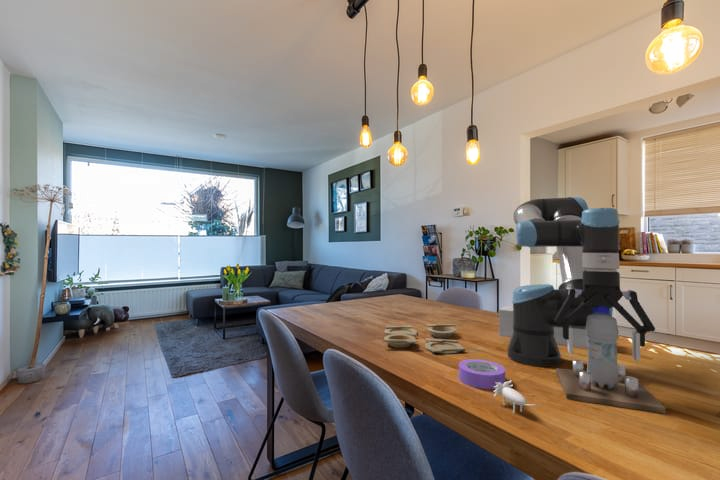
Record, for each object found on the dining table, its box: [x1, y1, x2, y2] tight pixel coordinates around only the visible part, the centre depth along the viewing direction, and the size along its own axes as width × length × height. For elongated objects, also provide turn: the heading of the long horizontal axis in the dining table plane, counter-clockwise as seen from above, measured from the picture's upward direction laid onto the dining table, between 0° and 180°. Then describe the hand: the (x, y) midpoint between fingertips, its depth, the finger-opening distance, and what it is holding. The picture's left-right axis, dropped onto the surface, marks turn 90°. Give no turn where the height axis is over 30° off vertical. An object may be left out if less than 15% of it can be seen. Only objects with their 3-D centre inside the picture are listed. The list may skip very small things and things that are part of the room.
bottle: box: [585, 306, 620, 389], centre depth 83 cm, size 7×7×20 cm
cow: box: [492, 379, 537, 414], centre depth 73 cm, size 12×5×5 cm, turn 13°
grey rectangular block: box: [498, 305, 588, 350], centre depth 130 cm, size 32×11×11 cm, turn 53°
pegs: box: [571, 358, 639, 398], centre depth 83 cm, size 11×11×4 cm
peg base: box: [555, 367, 666, 415], centre depth 83 cm, size 18×18×1 cm
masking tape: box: [458, 358, 506, 390], centre depth 90 cm, size 12×12×4 cm
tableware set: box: [382, 323, 467, 355], centre depth 128 cm, size 35×29×4 cm
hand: (602, 355), depth 83 cm, fingers open, 13 cm apart
